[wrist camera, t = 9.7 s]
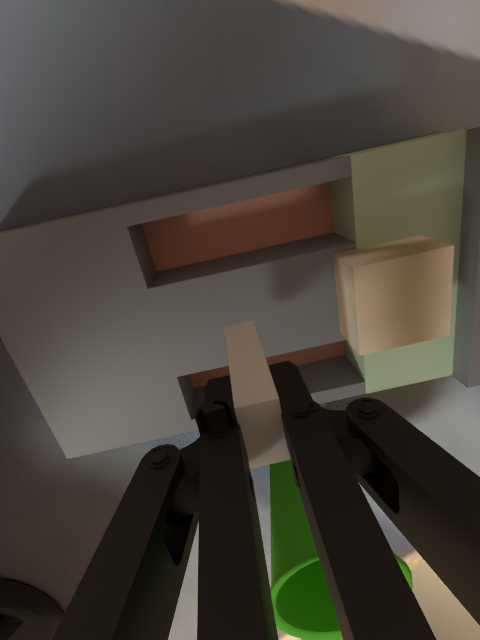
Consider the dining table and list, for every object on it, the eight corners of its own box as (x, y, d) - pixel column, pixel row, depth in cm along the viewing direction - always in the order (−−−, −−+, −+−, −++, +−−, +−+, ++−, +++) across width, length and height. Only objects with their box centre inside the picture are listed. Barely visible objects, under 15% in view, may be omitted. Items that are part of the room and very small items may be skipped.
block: (340, 332, 21) (359, 355, 19) (333, 254, 19) (353, 267, 17) (418, 314, 21) (449, 335, 19) (419, 234, 19) (454, 245, 17)
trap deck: (86, 420, 27) (58, 476, 22) (-7, 232, 21) (-73, 251, 16) (432, 344, 27) (482, 384, 22) (438, 133, 21) (509, 120, 16)
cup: (269, 409, 28) (302, 540, 18) (364, 432, 30) (442, 563, 20) (234, 486, 32) (245, 634, 21) (322, 503, 33) (371, 646, 23)
